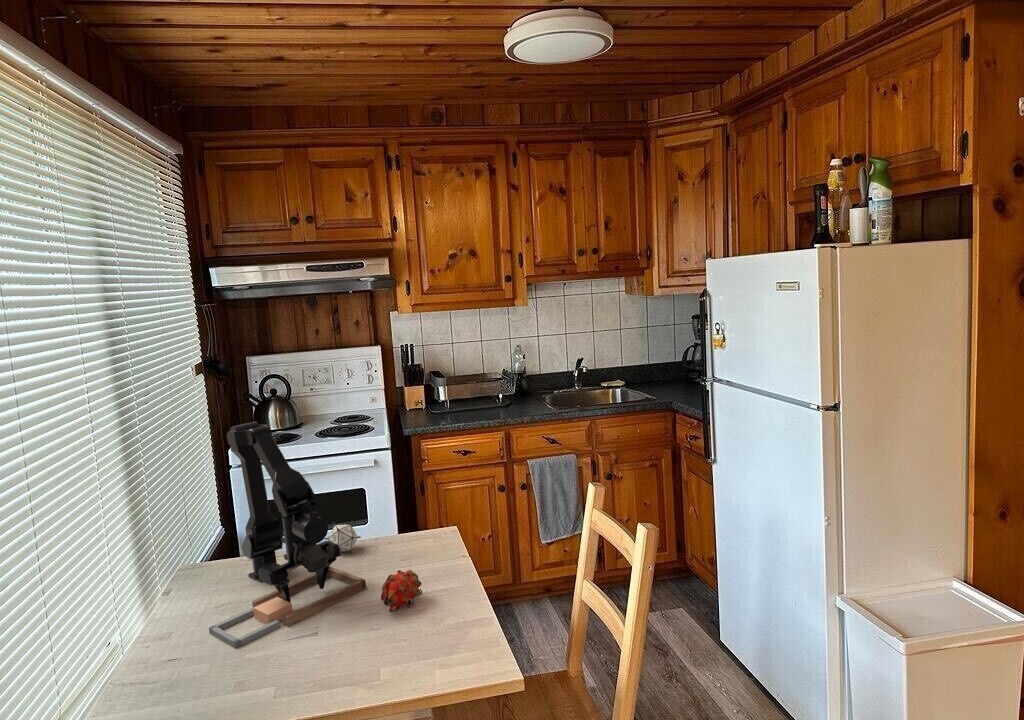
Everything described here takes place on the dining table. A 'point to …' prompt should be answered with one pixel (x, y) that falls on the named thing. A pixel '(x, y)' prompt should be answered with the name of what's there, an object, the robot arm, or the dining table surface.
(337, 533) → the game die
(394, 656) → the dining table surface
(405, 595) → the dragon fruit
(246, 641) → the grey bay
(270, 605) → the terracotta block
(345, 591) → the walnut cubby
